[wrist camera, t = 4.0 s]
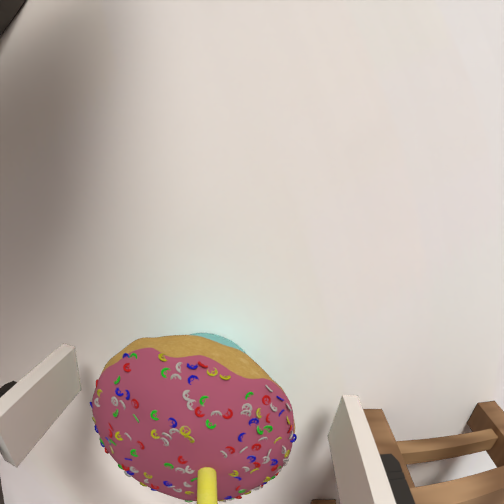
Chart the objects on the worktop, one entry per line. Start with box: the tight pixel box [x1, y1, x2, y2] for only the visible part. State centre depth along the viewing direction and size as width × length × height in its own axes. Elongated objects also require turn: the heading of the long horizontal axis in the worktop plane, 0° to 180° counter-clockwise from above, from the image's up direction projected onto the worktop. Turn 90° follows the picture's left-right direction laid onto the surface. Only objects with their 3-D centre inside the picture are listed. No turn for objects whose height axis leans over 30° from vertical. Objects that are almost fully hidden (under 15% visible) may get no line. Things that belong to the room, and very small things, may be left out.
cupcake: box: [90, 333, 297, 504], centre depth 10 cm, size 9×8×12 cm
